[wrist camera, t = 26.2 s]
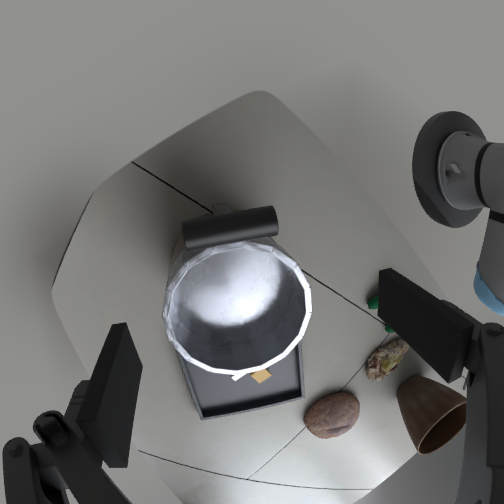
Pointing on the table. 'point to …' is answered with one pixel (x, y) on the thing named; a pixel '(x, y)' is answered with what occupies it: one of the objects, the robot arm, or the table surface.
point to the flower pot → (431, 412)
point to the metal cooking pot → (235, 293)
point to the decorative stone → (332, 415)
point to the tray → (245, 387)
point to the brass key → (261, 375)
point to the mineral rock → (386, 359)
